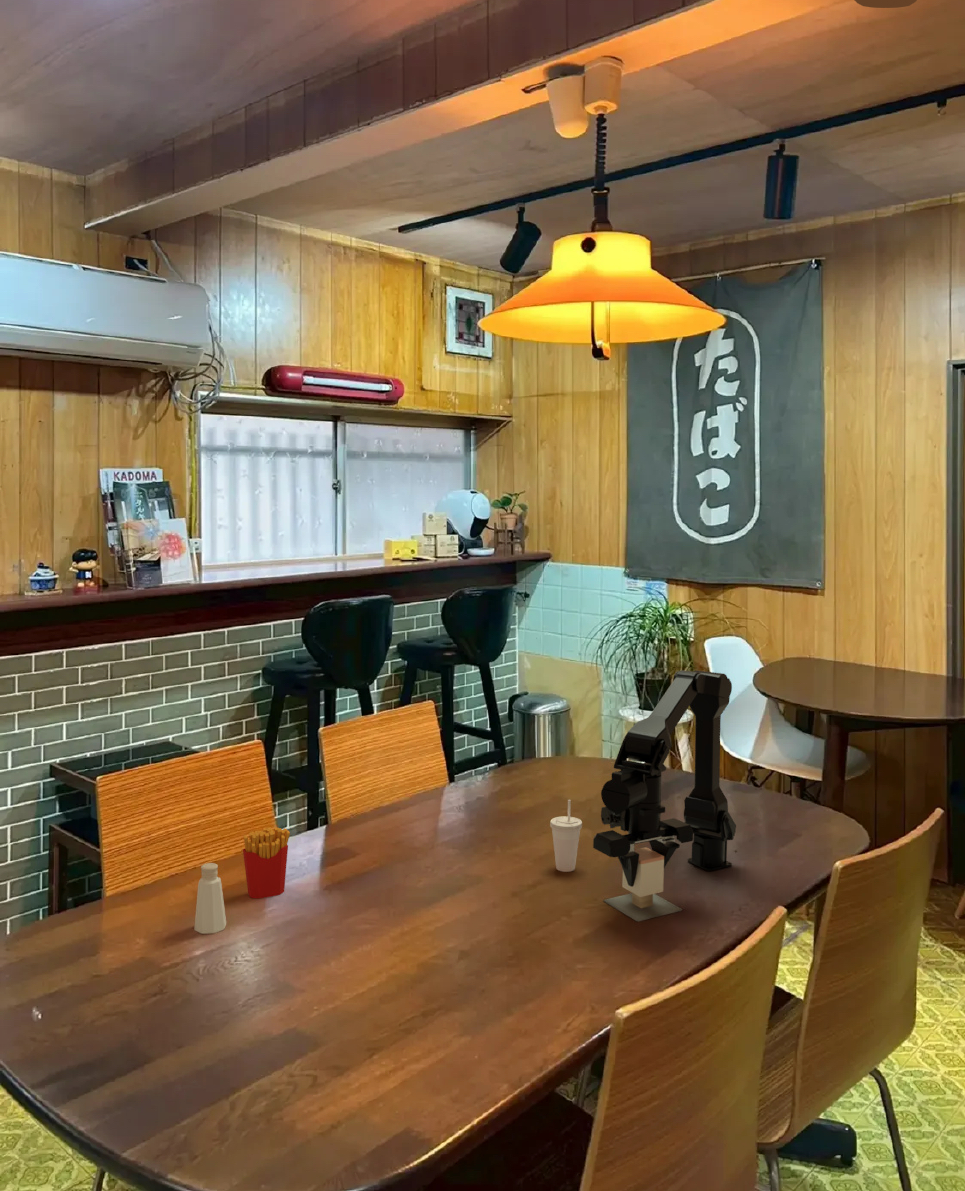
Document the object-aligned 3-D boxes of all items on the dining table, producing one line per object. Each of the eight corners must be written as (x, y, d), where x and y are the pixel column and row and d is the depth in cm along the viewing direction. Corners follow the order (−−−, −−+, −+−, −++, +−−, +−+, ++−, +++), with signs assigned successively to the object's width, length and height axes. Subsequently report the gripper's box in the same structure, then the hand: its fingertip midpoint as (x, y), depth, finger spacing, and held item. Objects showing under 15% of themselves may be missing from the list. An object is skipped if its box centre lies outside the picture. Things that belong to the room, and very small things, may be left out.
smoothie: (579, 875, 194) (580, 805, 193) (547, 872, 195) (548, 803, 194) (583, 863, 200) (584, 796, 199) (551, 861, 201) (552, 794, 200)
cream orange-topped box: (645, 881, 183) (645, 847, 182) (663, 891, 178) (664, 856, 178) (622, 886, 180) (623, 851, 180) (640, 897, 176) (641, 861, 175)
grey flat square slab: (646, 891, 186) (647, 855, 186) (681, 910, 178) (682, 872, 177) (603, 901, 181) (604, 864, 181) (637, 921, 173) (638, 882, 172)
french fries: (247, 900, 181) (246, 837, 180) (242, 893, 184) (241, 830, 183) (292, 892, 185) (291, 830, 184) (286, 885, 188) (285, 823, 187)
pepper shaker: (197, 936, 166) (196, 873, 165) (191, 924, 171) (189, 862, 170) (230, 930, 168) (229, 867, 167) (222, 918, 173) (221, 857, 172)
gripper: (657, 780, 189) (655, 859, 191) (576, 794, 180) (575, 877, 182) (696, 796, 180) (694, 879, 181) (613, 811, 170) (611, 898, 172)
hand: (642, 882), depth 179 cm, fingers closed on cream orange-topped box, 5 cm apart
